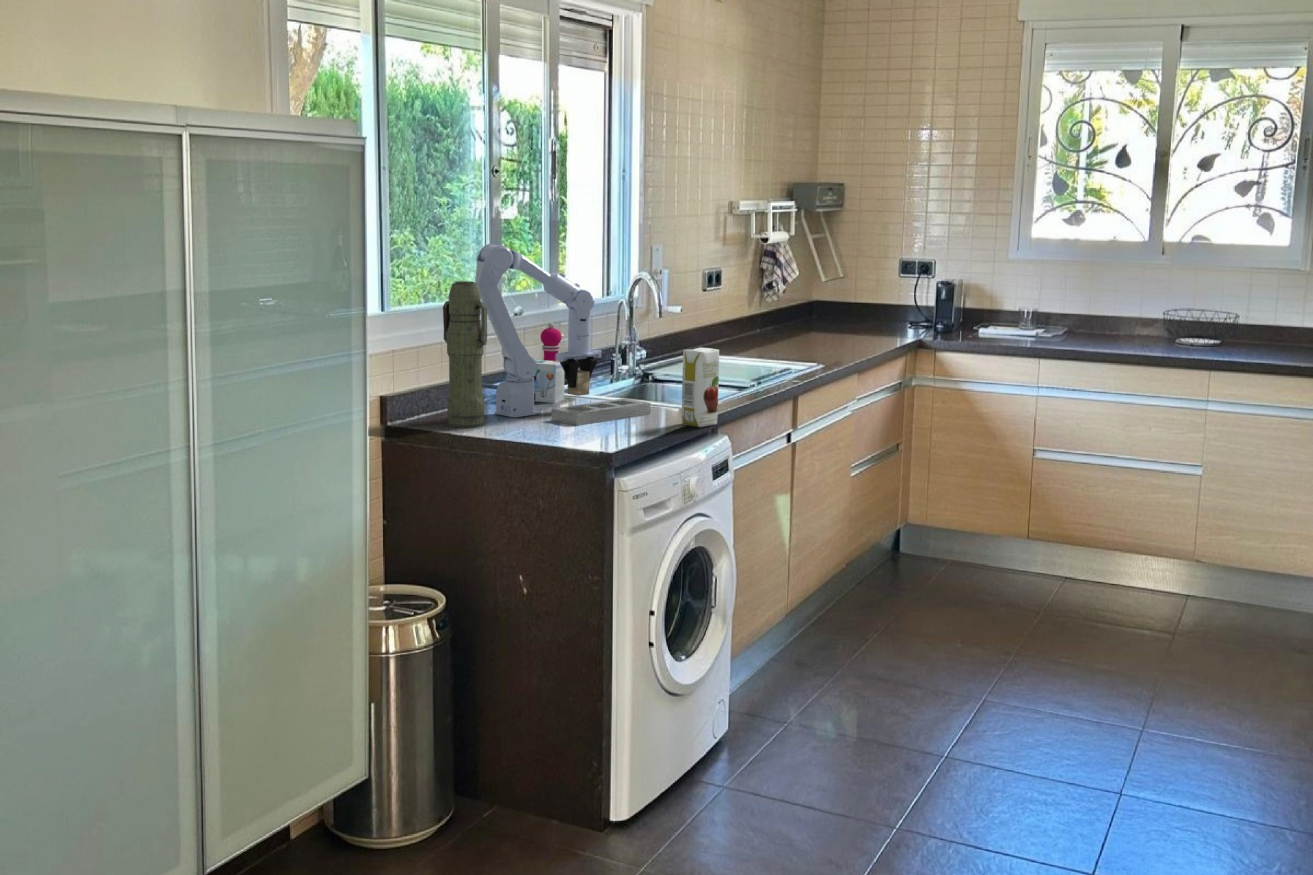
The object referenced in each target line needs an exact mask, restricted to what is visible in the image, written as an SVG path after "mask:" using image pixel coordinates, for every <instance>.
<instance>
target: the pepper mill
mask: <svg viewBox="0 0 1313 875" xmlns="http://www.w3.org/2000/svg"><path fill="white" fill-rule="evenodd" d="M562 337H563V336H562V333H561V331H560V330H559V329H557V328H555V324H554V323H553V322H548V325H547V328H545V329H543V330H542V331H541V334H540V341H541V343H542V346H541V347H542V349H541V350H542V351H543V359H542V360H545V361H556V354H557V353H559V351H560V349H561V348H560V347H561V346H560V343H561V341H562Z"/></svg>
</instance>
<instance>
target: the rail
mask: <svg viewBox="0 0 1313 875" xmlns="http://www.w3.org/2000/svg"><path fill="white" fill-rule="evenodd" d="M647 415H651V402H648V401H642V400H636V399H631V398H626V397H625V398H617V399H612V400H603V401H597V402H591V403H590V402H589V403H583V404H575V405H567V406H562V407H555V408H551V421H552V422H558V423H562V424H565V425H566V424H567V425H571V426H576V427H577V426H584V425H590V424H597V423H602V422H609V421H610V422H611V421H615V420H623V419H627V418H635V417H641V416H647Z"/></svg>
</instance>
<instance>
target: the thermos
mask: <svg viewBox="0 0 1313 875" xmlns="http://www.w3.org/2000/svg"><path fill="white" fill-rule="evenodd" d="M442 316H443V318H442V320H443V340H444V341H445V343H446V353H447V355H448V374H449V375H448V376H449V381H448V382H449V384H448V385H449V386H448V387H449V389H448V390H449V391H448V395H447V398H446V400H447V402H446V403H447V404H446V406H447V407H446V408H447V409H446V410H447V411H446V413H447V416H448V422H447V425H448V427H452V428H459V429H469V428H471V429H473V428H479V427H482V426H484V422H485V421H484V416H485V396H484V394H483V382H482V381H483V378H482V376H483V374H482V372H483V368H482V364H483V363H482V362H483V361H482V358H483V355H484V352H485V351H484V349H485V348H484V347H485V346H486V345H487V343H488V314H487V307H486V305H485V304H484V303H483V302H482V300H481V294H480V290H479V287H478V284H476V283H475V281H469V280H468V281H464V280H463V281H462V280H461V281H459V280H458V281H454V282H453V283H451V287H450V289H449V293H448V300H446V301H445V303H443V306H442Z"/></svg>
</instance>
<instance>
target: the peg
mask: <svg viewBox="0 0 1313 875" xmlns="http://www.w3.org/2000/svg"><path fill="white" fill-rule="evenodd" d="M589 373H590V372H588V371H582V370H580V369H578V371H577V381H576V388H570V387H569V386H568V385H567V395H571V396H579V397H580V396H586V395H587V396H588V395H590V381H589Z"/></svg>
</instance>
